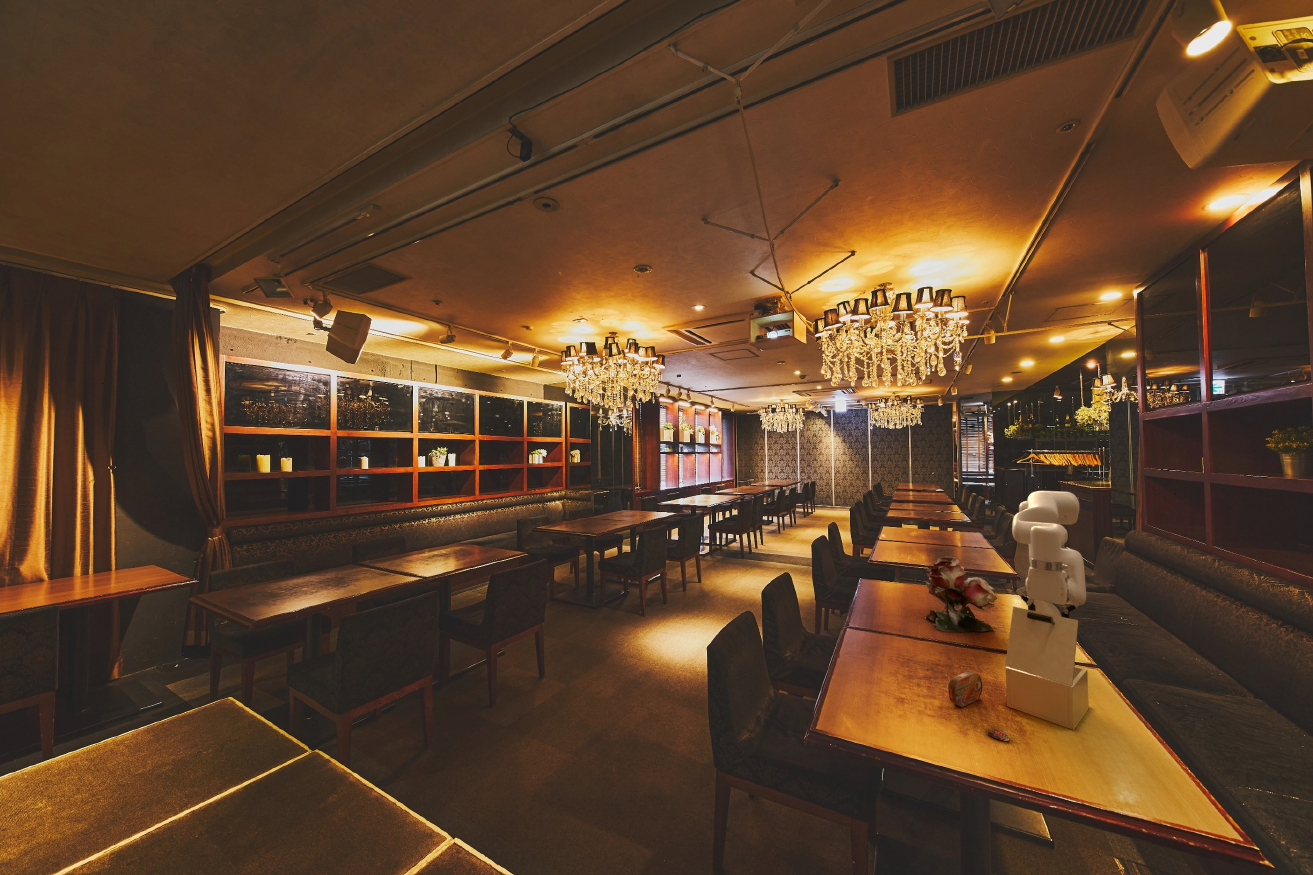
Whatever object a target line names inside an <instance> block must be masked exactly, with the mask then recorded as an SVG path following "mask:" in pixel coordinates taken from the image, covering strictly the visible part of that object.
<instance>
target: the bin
mask: <svg viewBox="0 0 1313 875" xmlns="http://www.w3.org/2000/svg"><path fill="white" fill-rule="evenodd" d="M1088 674H1089V673H1088V669H1087V668H1083V667H1081V666H1076V665H1074V676H1073V686H1070V685H1066V684H1063V683H1059V682H1056V681H1052V680H1049V679H1046V678H1043V677H1039V676H1036V675H1033V674H1030V673H1027V672H1023V671H1020V670H1017V669H1013V668H1010V667H1007V666H1005V687H1006V688H1005V690H1006V707H1008V708H1011V709H1013V710H1017V711H1020V712H1023V713H1025V714H1027V715H1031V716H1034V717H1036V718H1040V719H1041V720H1045V721H1047V722H1050V723H1053V724H1055V725H1058V726H1060V727H1064V728H1067V729H1070V730H1072V731H1074V730H1075V729H1076V727H1077V726H1078V725H1079V723H1080V722H1081V721H1082V719H1083V718H1084V716H1085V714H1086V713H1087V712H1088V711H1089V709H1090V703H1089V701H1090V700H1089V699H1090V698H1089V676H1088Z"/></svg>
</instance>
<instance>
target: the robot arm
mask: <svg viewBox="0 0 1313 875" xmlns="http://www.w3.org/2000/svg"><path fill="white" fill-rule="evenodd" d="M1079 513H1080V502H1079V499H1078V497H1077V496H1076V495H1075V493H1072V492H1070V491H1054V490H1038V491H1033V492H1031V493H1030V494H1029V495H1028V497H1027V500H1025V501H1022V502H1020V504H1019V506H1018V512H1016V514H1015V515H1014V516H1013V518H1012V522H1011V523H1012V524H1011V526H1012V527H1011V533H1012V537H1013V539H1014V540H1015V542H1017V543H1019V544H1024V545H1028V560H1029V564H1030V566H1029V567H1028V572H1027V577H1026V578H1025V583H1024V586H1022V587H1020V588H1017V589H1016V590H1015V592H1016V593H1017V595H1018V596H1019V597H1020V598H1021V600H1022V601H1023V602H1024V603H1025V605H1026V606H1027V610H1032V611H1037V612H1041V613H1046V614H1051V615H1055V616H1060V617H1065V618H1069V619H1070V613H1071V612H1073V611H1075V610H1076V609H1077V608H1078V607H1079V606H1083V605H1085V604H1086V601H1087V588H1086V575H1085V574H1086V572H1085V563H1084V558H1083V556H1082V553H1081V552H1079V551H1078V550H1075V549H1072V548H1063V547H1062V546H1064V545H1065V544H1066V543H1067V542H1068V537H1069V534H1068V531H1067V529H1066V528H1065V527H1064V526H1063V525H1074V524H1076V523H1077V521H1078V518H1079ZM1025 591H1026V594H1025V593H1024V592H1025ZM1055 604H1056V605H1058V606H1059V607H1060V609H1061V611H1062V612H1060V610H1059V609H1058V608H1057V607H1056V606H1055Z"/></svg>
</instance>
